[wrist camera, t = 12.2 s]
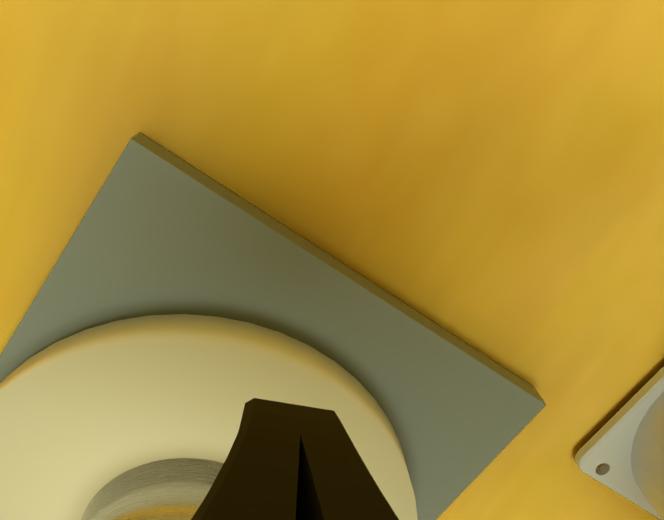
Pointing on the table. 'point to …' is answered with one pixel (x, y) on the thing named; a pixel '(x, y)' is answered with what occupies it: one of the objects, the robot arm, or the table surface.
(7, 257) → the table surface
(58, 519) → the turntable
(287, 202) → the table surface
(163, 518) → the cover
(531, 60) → the table surface
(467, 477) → the base plate
